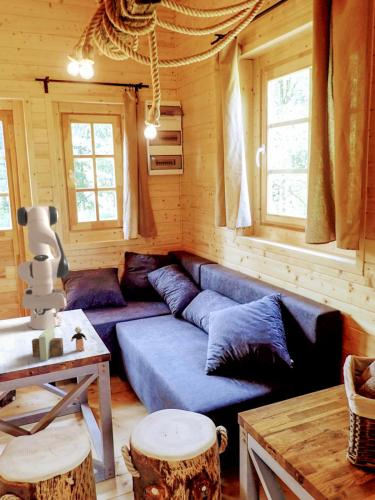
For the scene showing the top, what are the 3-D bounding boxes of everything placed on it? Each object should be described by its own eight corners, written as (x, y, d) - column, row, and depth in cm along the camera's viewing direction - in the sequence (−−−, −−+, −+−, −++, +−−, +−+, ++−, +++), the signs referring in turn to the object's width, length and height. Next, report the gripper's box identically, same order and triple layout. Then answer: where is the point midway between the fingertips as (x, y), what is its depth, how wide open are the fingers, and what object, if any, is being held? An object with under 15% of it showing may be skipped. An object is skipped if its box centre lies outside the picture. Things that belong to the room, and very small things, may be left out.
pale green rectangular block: (49, 349, 216) (48, 326, 215) (55, 349, 216) (54, 326, 215) (40, 360, 203) (38, 336, 201) (46, 360, 203) (45, 336, 201)
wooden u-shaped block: (33, 356, 208) (31, 340, 207) (35, 354, 211) (33, 338, 210) (61, 355, 208) (60, 340, 207) (63, 353, 211) (62, 337, 210)
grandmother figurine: (86, 347, 218) (84, 323, 216) (88, 350, 214) (86, 326, 212) (70, 350, 214) (69, 326, 212) (72, 353, 211) (71, 328, 209)
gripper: (67, 287, 208) (69, 314, 210) (24, 287, 207) (27, 315, 210) (63, 290, 201) (65, 318, 204) (20, 291, 201) (22, 319, 204)
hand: (45, 317), depth 207 cm, fingers open, 8 cm apart
